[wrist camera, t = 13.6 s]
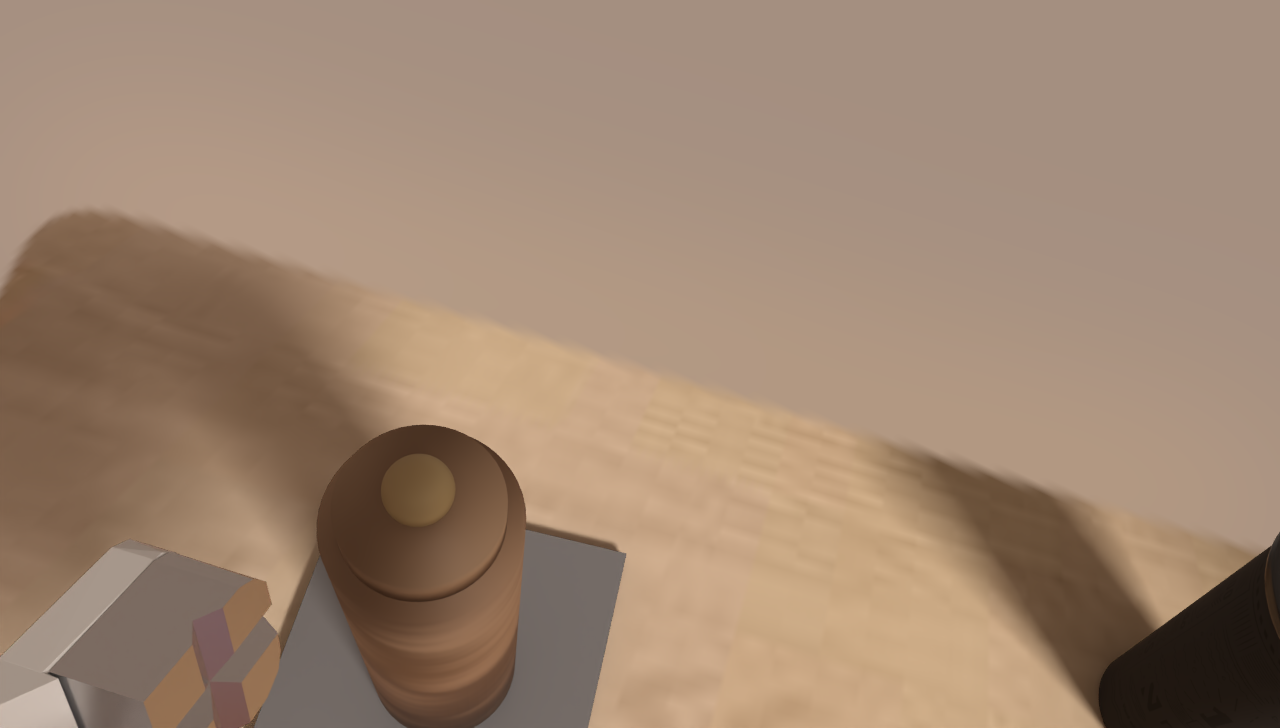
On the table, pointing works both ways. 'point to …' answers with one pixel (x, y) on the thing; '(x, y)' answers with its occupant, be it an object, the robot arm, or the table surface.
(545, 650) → the trivet
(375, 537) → the pepper mill
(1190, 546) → the table surface
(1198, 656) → the drinking cup
